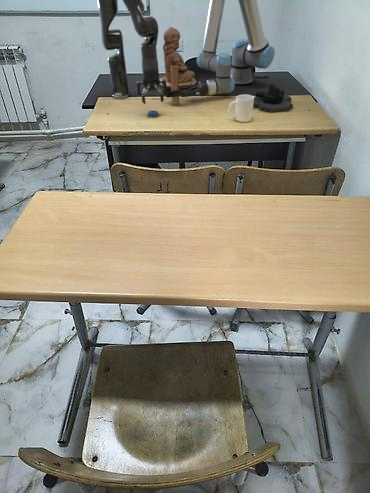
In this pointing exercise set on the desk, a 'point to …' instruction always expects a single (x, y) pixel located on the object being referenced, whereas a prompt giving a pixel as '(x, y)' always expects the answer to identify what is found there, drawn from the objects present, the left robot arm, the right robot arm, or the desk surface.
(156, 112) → the lid
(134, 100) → the desk surface
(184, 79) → the sculpture
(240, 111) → the mug
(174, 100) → the brown cylindrical tube
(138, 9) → the left robot arm
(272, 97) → the abstract sculpture
